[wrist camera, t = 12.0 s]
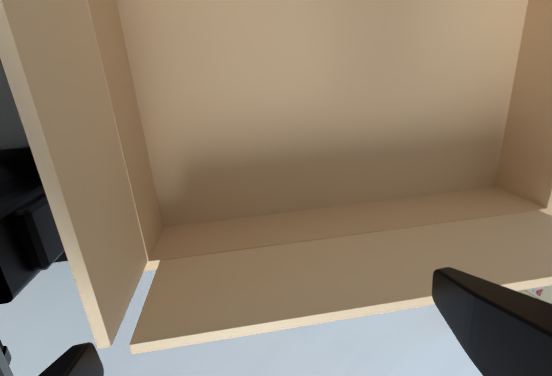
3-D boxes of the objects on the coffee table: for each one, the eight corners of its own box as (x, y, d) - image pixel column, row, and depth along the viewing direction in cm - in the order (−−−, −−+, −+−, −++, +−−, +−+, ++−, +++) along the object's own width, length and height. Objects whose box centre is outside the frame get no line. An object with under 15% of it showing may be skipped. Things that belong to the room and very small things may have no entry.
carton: (157, 232, 19) (100, 360, 10) (77, -139, 13) (-209, -554, 4) (495, 191, 21) (672, 266, 13) (554, -135, 15) (950, -391, 7)
